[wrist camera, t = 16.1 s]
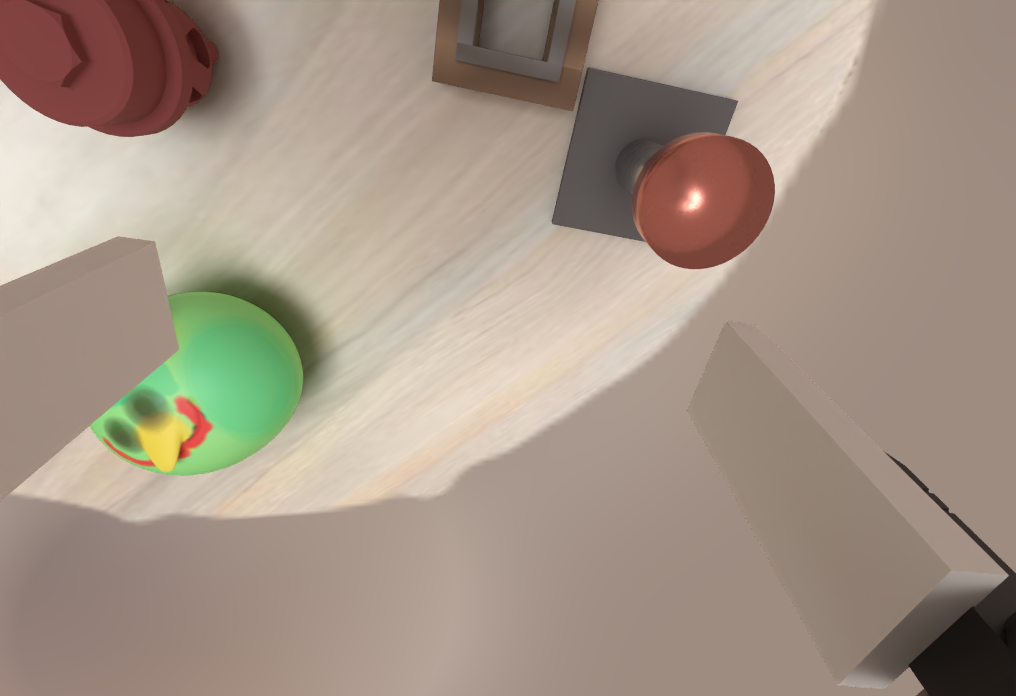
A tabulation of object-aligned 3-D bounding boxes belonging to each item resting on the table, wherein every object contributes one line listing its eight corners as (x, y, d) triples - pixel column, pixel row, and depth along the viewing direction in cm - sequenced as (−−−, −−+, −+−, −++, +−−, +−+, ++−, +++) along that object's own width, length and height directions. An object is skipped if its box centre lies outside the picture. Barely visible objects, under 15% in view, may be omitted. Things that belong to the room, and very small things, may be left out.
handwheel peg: (587, 200, 40) (625, 257, 27) (610, 110, 37) (667, 123, 23) (665, 215, 41) (741, 278, 27) (695, 128, 38) (798, 151, 24)
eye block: (458, -85, 32) (448, -119, 27) (600, -50, 33) (617, -76, 28) (440, 81, 37) (429, 80, 32) (565, 108, 38) (574, 111, 32)
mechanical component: (78, -19, 34) (213, -36, 33) (144, 133, 39) (262, 120, 38) (-123, -68, 23) (72, -94, 22) (3, 152, 28) (166, 134, 27)
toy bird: (241, 436, 54) (158, 545, 41) (107, 328, 47) (-43, 418, 34) (356, 357, 49) (302, 454, 36) (223, 224, 42) (99, 284, 29)
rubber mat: (587, 68, 36) (589, 67, 36) (733, 100, 37) (738, 100, 37) (551, 221, 42) (552, 224, 41) (679, 246, 43) (682, 248, 42)
